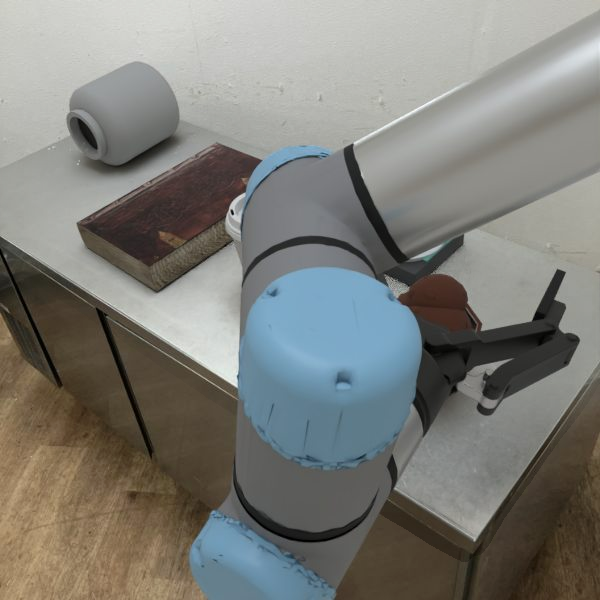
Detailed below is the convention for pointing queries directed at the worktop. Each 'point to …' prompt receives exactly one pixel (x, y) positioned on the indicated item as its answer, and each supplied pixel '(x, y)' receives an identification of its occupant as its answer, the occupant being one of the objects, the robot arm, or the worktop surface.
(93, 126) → the jar
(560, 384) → the worktop surface
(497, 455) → the worktop surface
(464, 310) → the ice cream bowl
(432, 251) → the scale
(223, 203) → the hardback book
